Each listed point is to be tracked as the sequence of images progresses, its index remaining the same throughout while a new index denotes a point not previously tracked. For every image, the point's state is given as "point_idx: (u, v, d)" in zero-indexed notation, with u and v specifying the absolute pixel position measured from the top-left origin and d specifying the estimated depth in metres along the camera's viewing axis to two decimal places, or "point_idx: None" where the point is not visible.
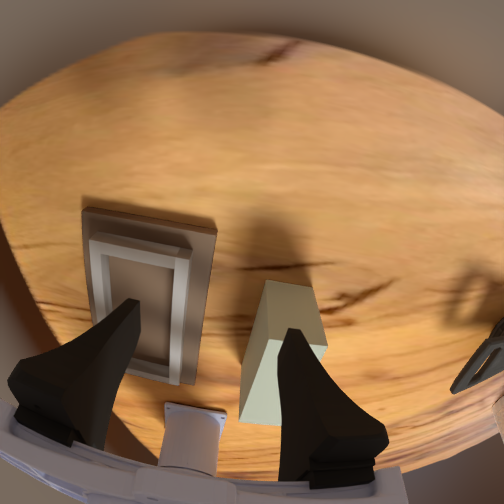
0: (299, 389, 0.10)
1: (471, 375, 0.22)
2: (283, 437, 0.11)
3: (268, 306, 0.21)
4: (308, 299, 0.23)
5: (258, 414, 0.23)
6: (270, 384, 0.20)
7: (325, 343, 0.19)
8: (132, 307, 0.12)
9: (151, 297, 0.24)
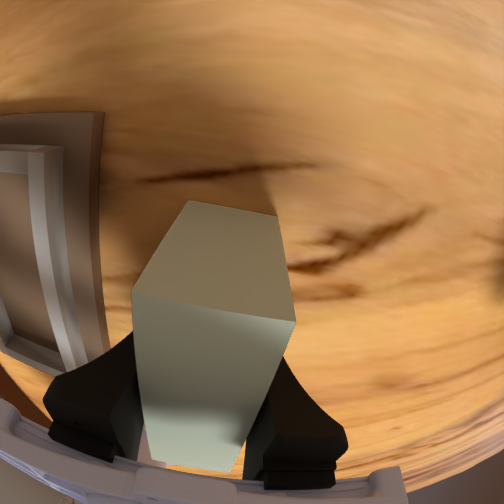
0: None
1: None
2: (248, 434, 0.11)
3: (168, 233, 0.10)
4: (265, 230, 0.11)
5: (178, 454, 0.11)
6: (176, 407, 0.09)
7: (290, 314, 0.07)
8: None
9: (24, 239, 0.13)
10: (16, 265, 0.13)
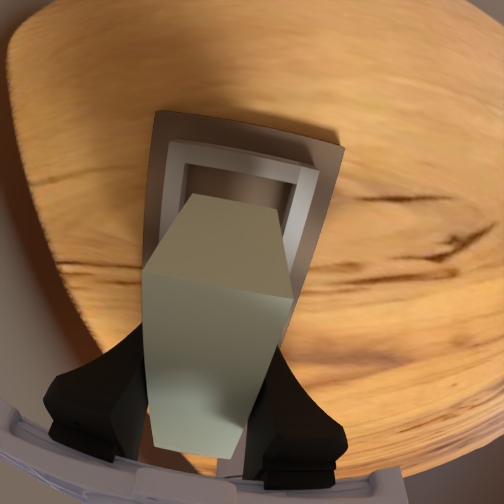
0: None
1: None
2: (247, 434, 0.11)
3: (174, 222, 0.10)
4: (264, 221, 0.12)
5: (180, 440, 0.12)
6: (181, 388, 0.10)
7: (288, 292, 0.08)
8: None
9: None
10: None
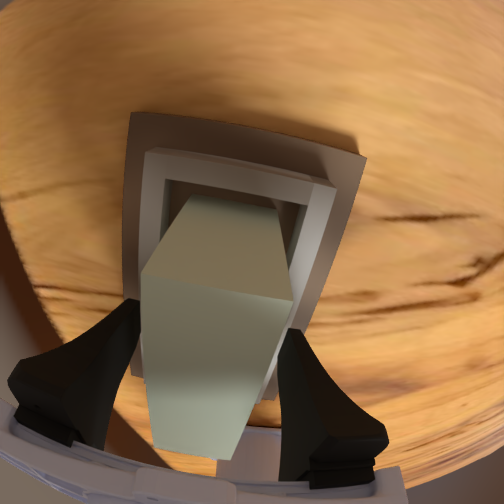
0: (299, 389, 0.10)
1: None
2: (283, 437, 0.11)
3: (174, 223, 0.10)
4: (264, 222, 0.12)
5: (180, 441, 0.12)
6: (180, 389, 0.10)
7: (288, 294, 0.08)
8: (132, 307, 0.12)
9: None
10: None
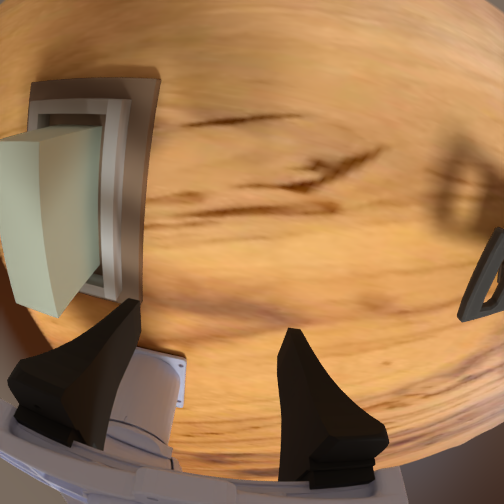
0: (299, 389, 0.10)
1: (484, 289, 0.16)
2: (283, 437, 0.11)
3: (28, 131, 0.13)
4: (81, 128, 0.15)
5: (24, 288, 0.15)
6: (10, 222, 0.13)
7: (41, 140, 0.11)
8: (132, 307, 0.12)
9: None
10: None
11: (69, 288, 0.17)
